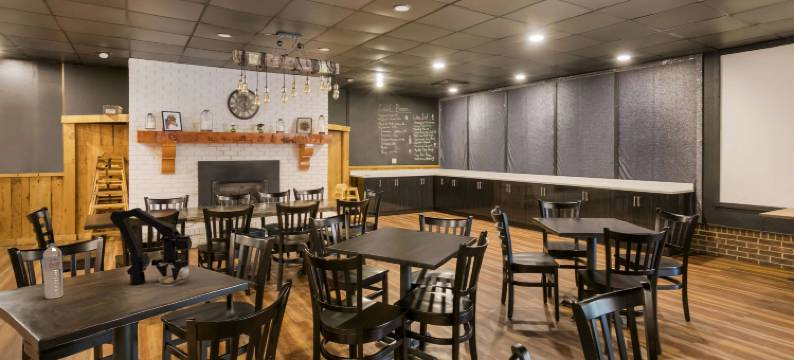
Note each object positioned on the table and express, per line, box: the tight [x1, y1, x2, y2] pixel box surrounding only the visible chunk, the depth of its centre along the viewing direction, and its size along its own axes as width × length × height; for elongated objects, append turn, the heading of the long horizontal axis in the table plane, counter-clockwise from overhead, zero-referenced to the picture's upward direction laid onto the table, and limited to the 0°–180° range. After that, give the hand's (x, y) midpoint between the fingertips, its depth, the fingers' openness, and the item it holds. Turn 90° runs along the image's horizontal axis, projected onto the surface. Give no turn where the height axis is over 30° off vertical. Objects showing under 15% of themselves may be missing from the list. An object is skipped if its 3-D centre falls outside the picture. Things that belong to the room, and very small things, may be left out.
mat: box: [154, 279, 185, 287], centre depth 231 cm, size 10×10×1 cm
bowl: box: [170, 267, 190, 280], centre depth 242 cm, size 8×8×5 cm
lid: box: [158, 274, 182, 283], centre depth 231 cm, size 6×8×2 cm
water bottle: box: [42, 242, 64, 300], centre depth 209 cm, size 7×7×25 cm
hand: (170, 279), depth 231 cm, fingers closed on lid, 6 cm apart
